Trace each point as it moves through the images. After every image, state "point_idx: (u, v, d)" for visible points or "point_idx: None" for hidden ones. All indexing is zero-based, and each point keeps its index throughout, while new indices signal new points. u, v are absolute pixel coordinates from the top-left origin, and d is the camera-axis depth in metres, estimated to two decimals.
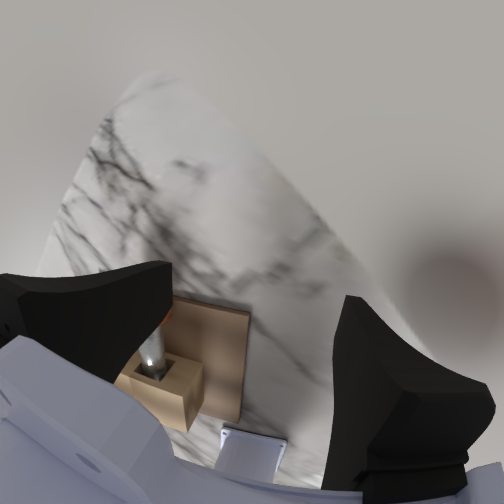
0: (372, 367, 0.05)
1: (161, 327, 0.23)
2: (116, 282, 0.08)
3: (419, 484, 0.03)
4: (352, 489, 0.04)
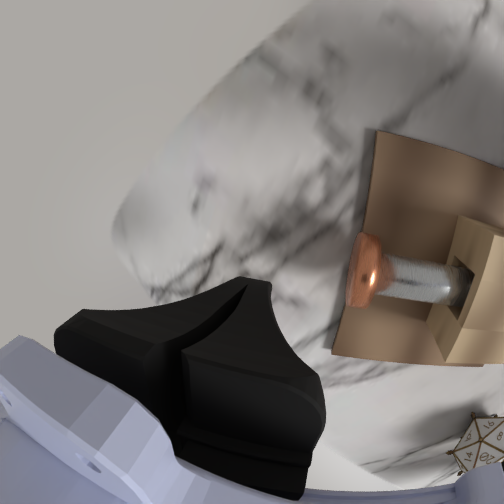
0: None
1: (392, 254, 0.15)
2: (220, 308, 0.08)
3: (235, 470, 0.04)
4: None
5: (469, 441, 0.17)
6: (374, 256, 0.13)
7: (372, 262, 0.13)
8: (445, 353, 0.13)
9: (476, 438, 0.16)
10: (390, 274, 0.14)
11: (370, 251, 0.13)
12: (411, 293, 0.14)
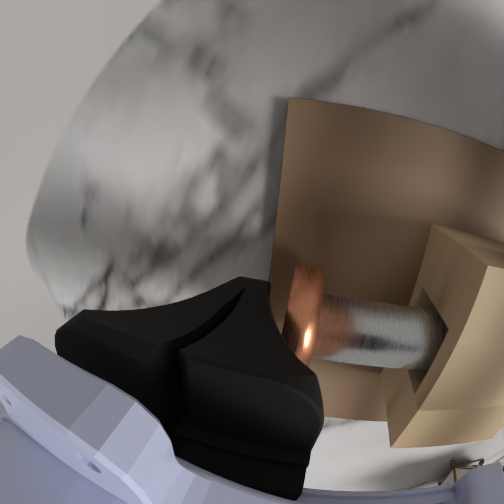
0: None
1: (350, 299, 0.10)
2: (221, 309, 0.08)
3: (233, 469, 0.04)
4: None
5: None
6: (307, 311, 0.08)
7: (303, 321, 0.08)
8: (393, 435, 0.09)
9: None
10: (339, 335, 0.09)
11: (301, 302, 0.08)
12: (377, 362, 0.09)
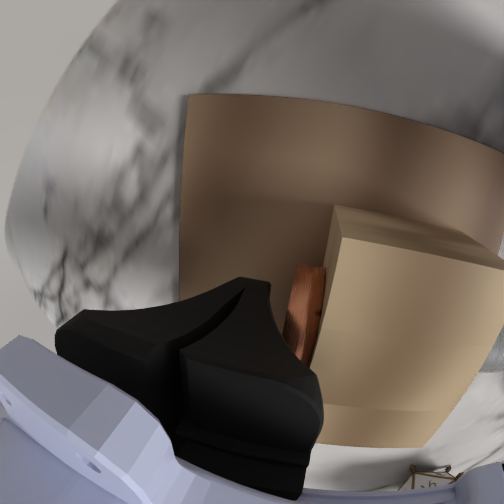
0: None
1: None
2: (221, 309, 0.08)
3: (233, 469, 0.04)
4: None
5: None
6: (308, 311, 0.08)
7: (303, 321, 0.08)
8: None
9: None
10: None
11: (302, 302, 0.08)
12: None
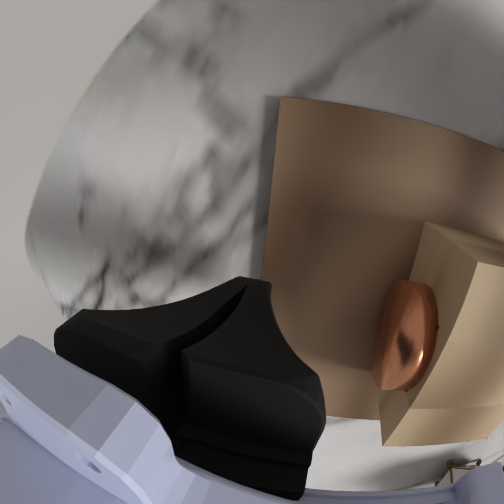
0: None
1: None
2: (220, 309, 0.08)
3: (235, 470, 0.04)
4: None
5: None
6: (428, 326, 0.07)
7: (425, 336, 0.07)
8: (385, 433, 0.09)
9: None
10: None
11: (422, 318, 0.08)
12: None
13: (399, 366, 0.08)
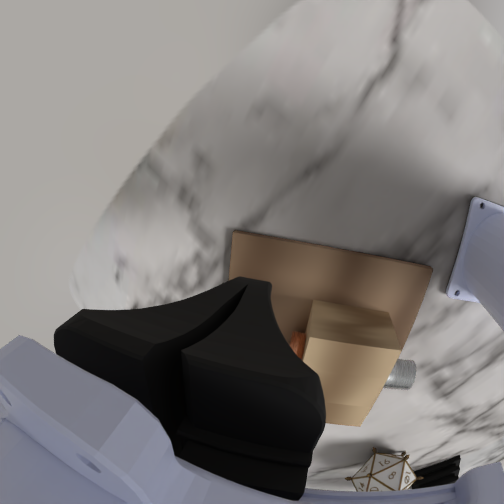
0: None
1: None
2: (220, 309, 0.08)
3: (235, 470, 0.04)
4: None
5: (364, 473, 0.23)
6: None
7: None
8: None
9: (368, 472, 0.22)
10: None
11: None
12: None
13: None
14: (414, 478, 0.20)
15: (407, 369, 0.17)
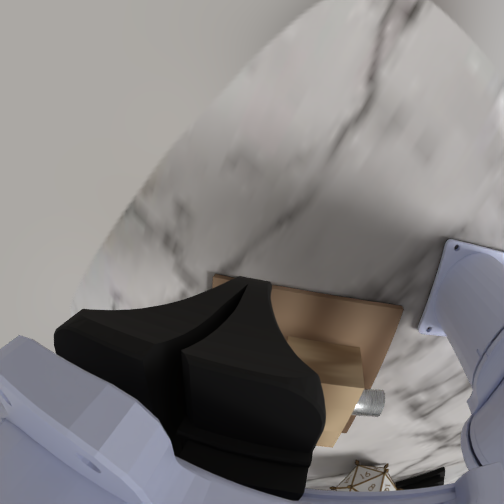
0: None
1: None
2: (220, 309, 0.08)
3: (235, 470, 0.04)
4: None
5: (346, 484, 0.24)
6: None
7: None
8: None
9: (349, 483, 0.24)
10: None
11: None
12: None
13: None
14: (394, 490, 0.22)
15: (376, 399, 0.19)
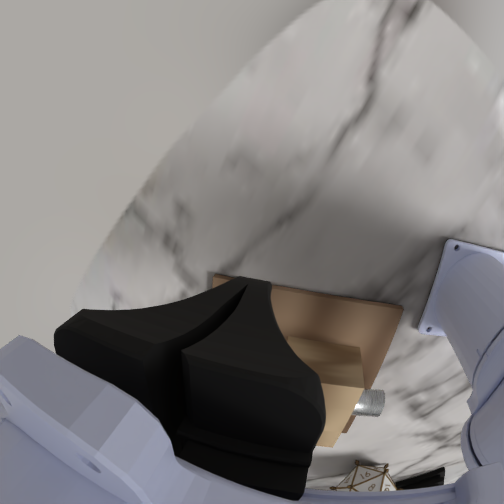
0: None
1: None
2: (220, 309, 0.08)
3: (235, 470, 0.04)
4: None
5: (346, 484, 0.24)
6: None
7: None
8: None
9: (349, 483, 0.24)
10: None
11: None
12: None
13: None
14: (394, 490, 0.22)
15: (376, 399, 0.19)
